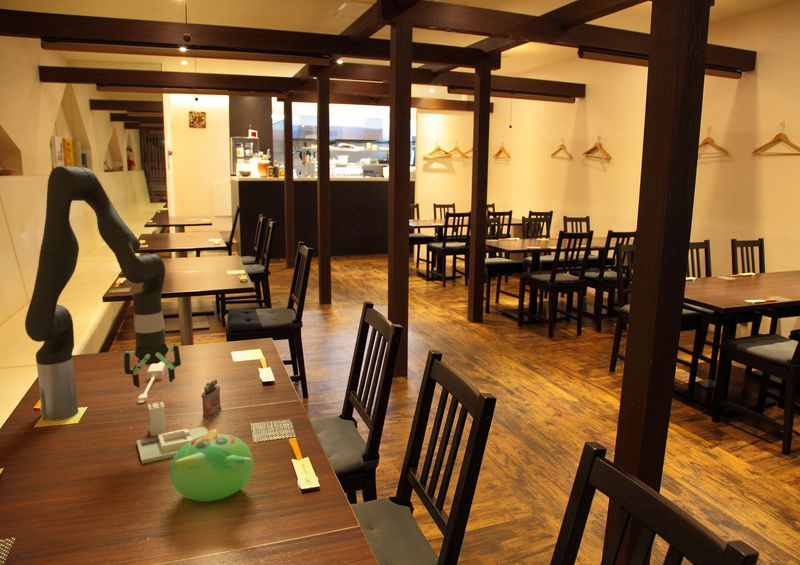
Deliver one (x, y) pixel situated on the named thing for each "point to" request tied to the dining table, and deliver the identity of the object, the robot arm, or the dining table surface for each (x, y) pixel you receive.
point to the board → (167, 444)
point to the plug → (157, 418)
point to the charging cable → (152, 378)
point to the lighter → (211, 400)
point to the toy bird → (211, 467)
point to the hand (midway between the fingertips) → (154, 383)
